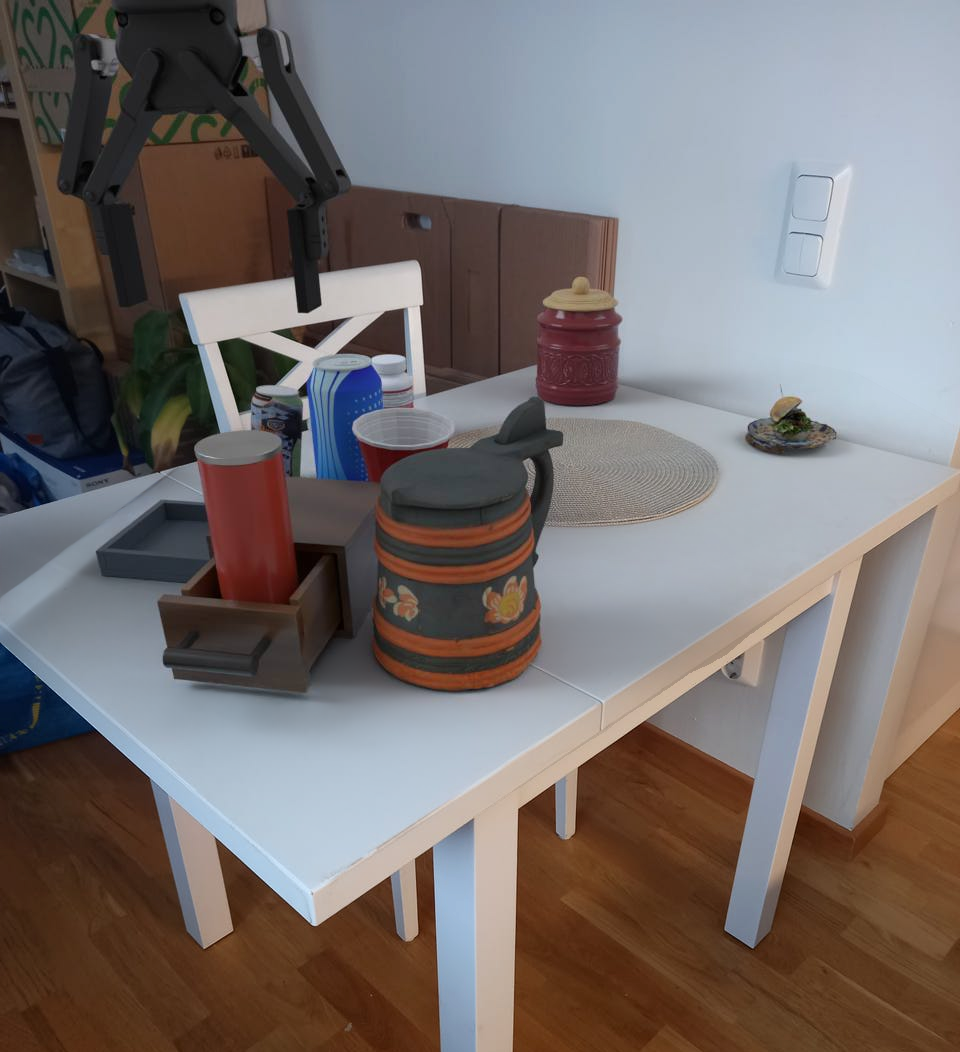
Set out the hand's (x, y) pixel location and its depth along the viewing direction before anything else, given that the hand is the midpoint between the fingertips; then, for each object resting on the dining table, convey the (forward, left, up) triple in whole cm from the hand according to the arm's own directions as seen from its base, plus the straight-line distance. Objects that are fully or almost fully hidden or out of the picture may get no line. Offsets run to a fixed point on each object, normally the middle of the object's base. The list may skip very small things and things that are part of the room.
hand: (220, 306), depth 66 cm
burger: (+49, +63, -29) cm, 85 cm away
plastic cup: (+5, +27, -29) cm, 40 cm away
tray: (-16, +17, -29) cm, 37 cm away
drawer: (0, -3, -28) cm, 28 cm away
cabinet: (0, +10, -29) cm, 31 cm away
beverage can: (-14, +37, -29) cm, 49 cm away
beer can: (-4, +35, -29) cm, 46 cm away
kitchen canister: (+18, +81, -29) cm, 88 cm away
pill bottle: (-5, +56, -29) cm, 64 cm away
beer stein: (+17, +5, -29) cm, 34 cm away
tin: (0, -1, -27) cm, 27 cm away
